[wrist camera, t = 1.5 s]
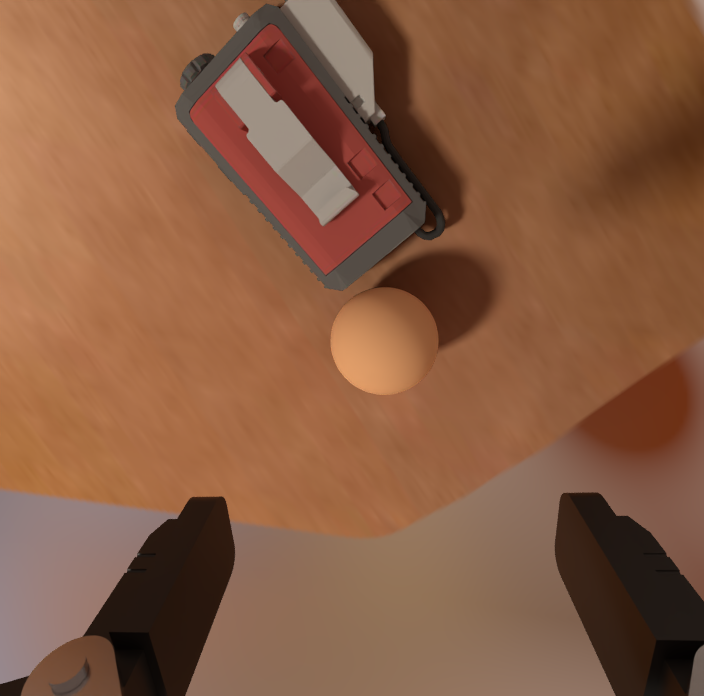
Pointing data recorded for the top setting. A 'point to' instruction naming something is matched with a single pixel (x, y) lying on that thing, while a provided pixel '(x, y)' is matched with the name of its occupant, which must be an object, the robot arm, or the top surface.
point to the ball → (384, 340)
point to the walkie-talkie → (306, 137)
